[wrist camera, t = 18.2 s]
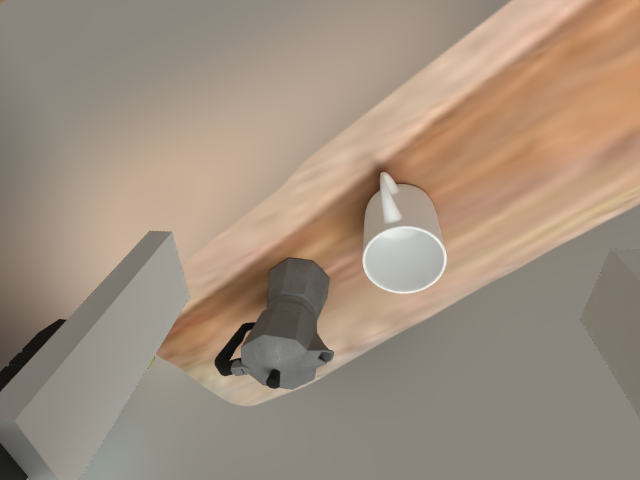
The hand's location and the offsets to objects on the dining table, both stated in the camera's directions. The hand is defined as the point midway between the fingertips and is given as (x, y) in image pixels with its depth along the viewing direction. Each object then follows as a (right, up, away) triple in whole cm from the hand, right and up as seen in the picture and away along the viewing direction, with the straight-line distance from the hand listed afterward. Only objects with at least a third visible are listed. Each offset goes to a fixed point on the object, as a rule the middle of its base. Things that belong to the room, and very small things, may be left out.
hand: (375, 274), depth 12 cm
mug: (+8, +6, +37) cm, 38 cm away
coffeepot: (-6, -5, +46) cm, 47 cm away
